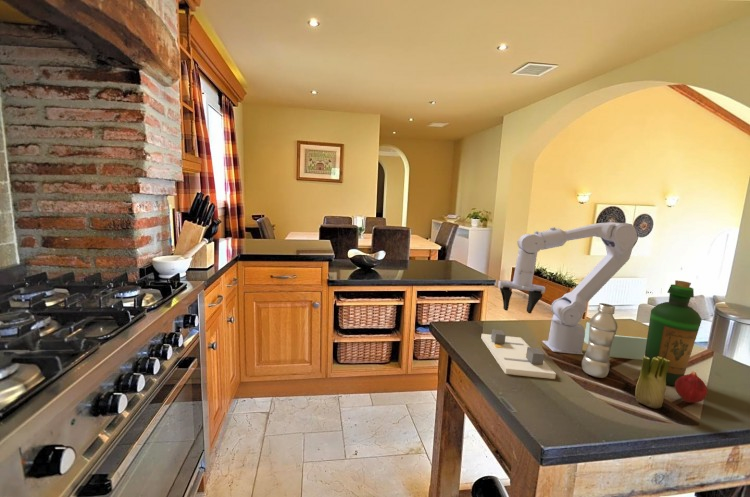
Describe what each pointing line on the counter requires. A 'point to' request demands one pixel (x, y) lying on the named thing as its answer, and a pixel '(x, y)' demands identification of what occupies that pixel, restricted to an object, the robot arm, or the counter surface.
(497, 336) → the switch
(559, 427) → the counter surface
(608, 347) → the plastic bottle
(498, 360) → the switch console
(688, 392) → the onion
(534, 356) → the switch
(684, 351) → the bottle
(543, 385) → the counter surface
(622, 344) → the l-shaped corner panel
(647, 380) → the fennel bulb
